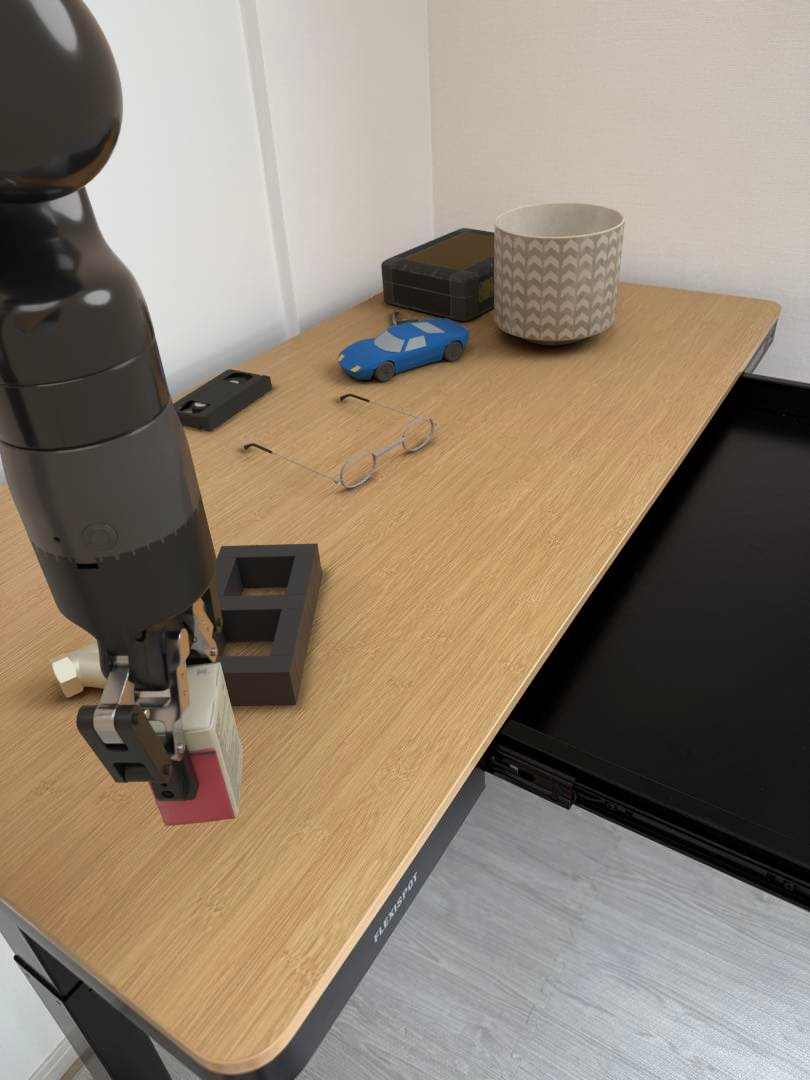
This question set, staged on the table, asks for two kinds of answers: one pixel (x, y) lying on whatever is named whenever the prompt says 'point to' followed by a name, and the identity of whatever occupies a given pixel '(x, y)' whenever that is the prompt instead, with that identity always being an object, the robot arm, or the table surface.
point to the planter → (557, 271)
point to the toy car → (404, 348)
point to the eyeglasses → (364, 451)
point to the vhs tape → (221, 398)
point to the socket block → (266, 618)
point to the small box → (206, 749)
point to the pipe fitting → (79, 670)
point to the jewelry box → (444, 275)
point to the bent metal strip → (398, 322)
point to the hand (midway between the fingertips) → (193, 749)
